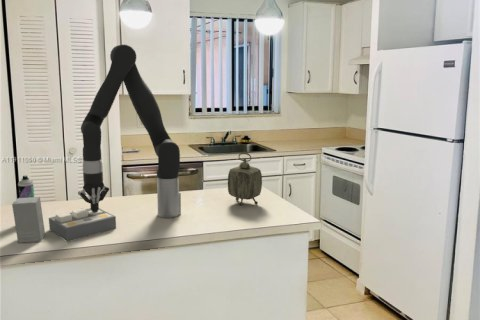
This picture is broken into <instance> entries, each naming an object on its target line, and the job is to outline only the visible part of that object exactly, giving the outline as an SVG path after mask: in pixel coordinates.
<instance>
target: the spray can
mask: <svg viewBox="0 0 480 320" xmlns="http://www.w3.org/2000/svg"><path fill="white" fill-rule="evenodd" d="M17 188H18V196H19V197H18V198H31V197H35V190H34V189H35V187H34V181H33V180H31V179H30V178H29V177H28V175H23V176H22V178H21V180H20V181H19V180H18V183H17Z"/></svg>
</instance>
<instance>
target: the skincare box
mask: <svg viewBox="0 0 480 320" xmlns="http://www.w3.org/2000/svg"><path fill="white" fill-rule="evenodd" d="M11 205H12V211H13V212H12V213H13V219H14V225H15V232H16V237H17V243H18V244H23V243H36V242H37V243H38V242H42V240H43V238H44V237H45V236H46V231H45V224H44V223H45V222H44V218H43V217H44V215H43V209H42V201H41V197H40V196H34V197H31V198H19V197H18V198H17V199H15V200H14V201H13V203H12V204H11Z"/></svg>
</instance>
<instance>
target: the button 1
mask: <svg viewBox="0 0 480 320" xmlns="http://www.w3.org/2000/svg"><path fill="white" fill-rule="evenodd" d="M70 213H71V212H68V211H64V212H60V213H56V214H55V216H56V221H58V222H59V223H63V222H67V221H71V220H72V215H71V214H70Z"/></svg>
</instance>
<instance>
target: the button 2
mask: <svg viewBox="0 0 480 320" xmlns="http://www.w3.org/2000/svg"><path fill="white" fill-rule="evenodd" d="M88 213H89V214H91V215H96V214H100V213H103V212H102V211H100V210H98V212H92V211H88Z"/></svg>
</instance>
